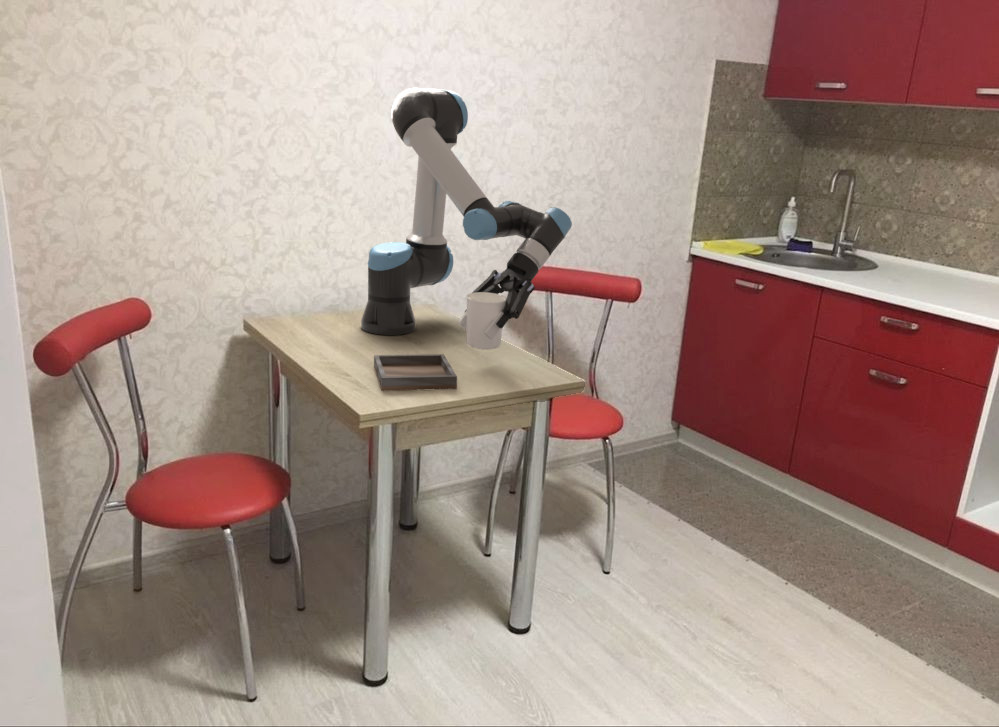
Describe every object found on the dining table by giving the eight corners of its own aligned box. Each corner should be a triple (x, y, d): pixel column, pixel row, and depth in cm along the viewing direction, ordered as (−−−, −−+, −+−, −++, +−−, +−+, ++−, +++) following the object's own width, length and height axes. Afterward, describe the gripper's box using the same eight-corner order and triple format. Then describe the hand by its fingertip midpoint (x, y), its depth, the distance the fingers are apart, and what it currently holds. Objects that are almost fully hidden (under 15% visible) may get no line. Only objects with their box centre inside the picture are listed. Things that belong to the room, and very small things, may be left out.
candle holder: (468, 350, 205) (471, 302, 201) (459, 338, 214) (462, 291, 210) (507, 350, 208) (511, 302, 204) (497, 338, 217) (500, 292, 213)
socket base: (373, 366, 206) (374, 355, 206) (443, 365, 211) (443, 354, 210) (381, 390, 191) (381, 378, 190) (456, 388, 195) (457, 376, 194)
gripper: (565, 280, 208) (512, 352, 202) (505, 262, 223) (454, 328, 218) (552, 260, 203) (496, 333, 197) (491, 243, 218) (438, 310, 213)
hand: (474, 330), depth 207 cm, fingers closed on candle holder, 9 cm apart
